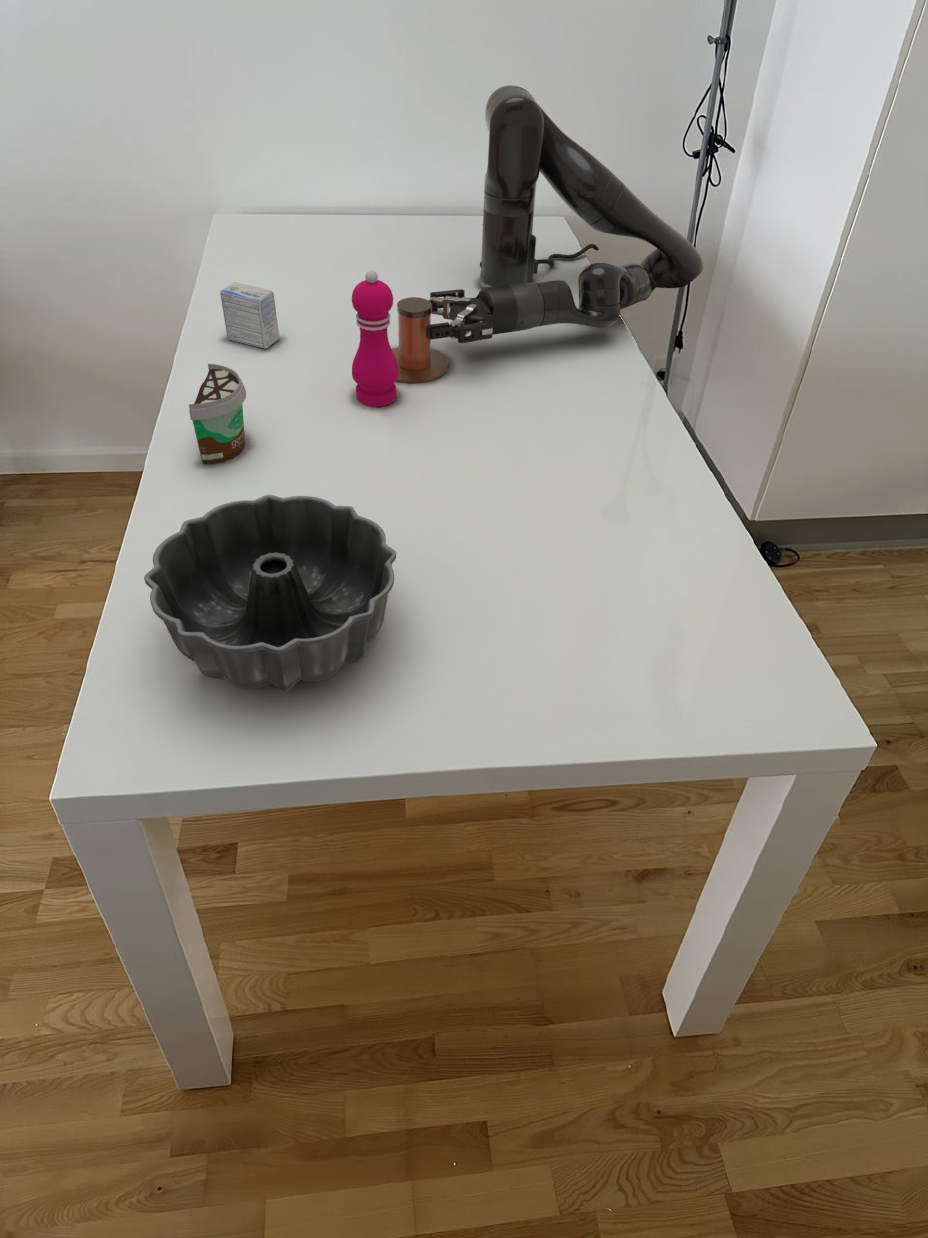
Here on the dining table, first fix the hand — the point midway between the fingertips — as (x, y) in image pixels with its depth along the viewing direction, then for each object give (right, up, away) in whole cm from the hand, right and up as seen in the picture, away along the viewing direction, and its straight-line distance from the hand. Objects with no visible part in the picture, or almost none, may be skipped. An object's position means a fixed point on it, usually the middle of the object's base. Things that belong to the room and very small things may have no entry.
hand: (417, 321), depth 148 cm
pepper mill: (-6, -13, -3) cm, 15 cm away
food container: (-26, -23, -15) cm, 38 cm away
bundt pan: (-13, -49, -42) cm, 66 cm away
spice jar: (-1, -5, +4) cm, 7 cm away
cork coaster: (-1, -6, +5) cm, 7 cm away
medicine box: (-28, 0, +10) cm, 30 cm away
